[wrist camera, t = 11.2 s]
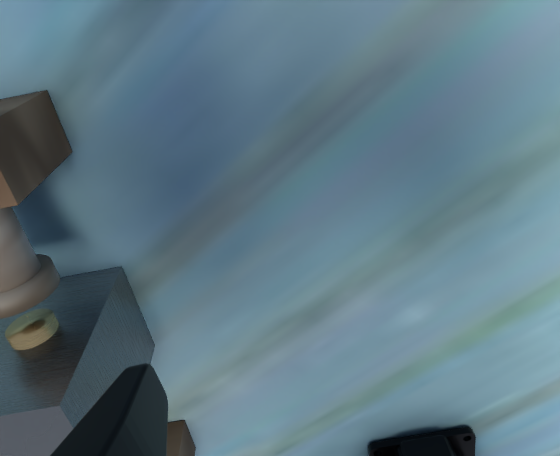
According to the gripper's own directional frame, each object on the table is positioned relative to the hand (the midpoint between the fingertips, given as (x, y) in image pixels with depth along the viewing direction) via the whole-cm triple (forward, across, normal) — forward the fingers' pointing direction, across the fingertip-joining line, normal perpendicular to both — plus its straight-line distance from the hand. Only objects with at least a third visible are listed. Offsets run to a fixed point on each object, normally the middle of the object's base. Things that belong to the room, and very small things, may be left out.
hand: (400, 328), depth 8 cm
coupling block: (+12, +13, +7) cm, 19 cm away
